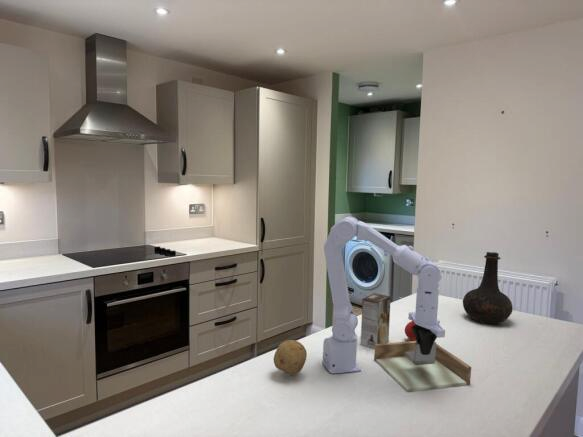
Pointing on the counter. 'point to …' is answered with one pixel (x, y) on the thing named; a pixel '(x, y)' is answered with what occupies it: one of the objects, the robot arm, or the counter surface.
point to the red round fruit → (410, 331)
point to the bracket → (421, 355)
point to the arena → (421, 367)
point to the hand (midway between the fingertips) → (423, 352)
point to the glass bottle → (488, 296)
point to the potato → (290, 357)
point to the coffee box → (375, 320)
